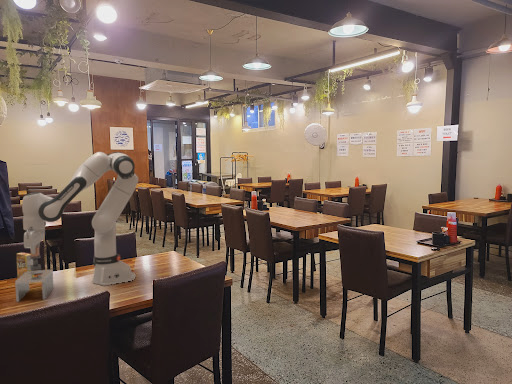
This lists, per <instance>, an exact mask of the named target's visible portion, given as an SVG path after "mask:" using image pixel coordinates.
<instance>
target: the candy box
mask: <svg viewBox="0 0 512 384" xmlns="http://www.w3.org/2000/svg"><path fill="white" fill-rule="evenodd" d="M30 256H31V252H30V253H28V252H23V251H22V252H18V253H16V271H17V279H18V278H19V277H21V276H22V275H23V274H24V273H25V272H26V271H31V267H30V266H31V265H33V259H30ZM32 277H35V274H32V275H31V278H32Z"/></svg>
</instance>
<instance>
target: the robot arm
mask: <svg viewBox="0 0 512 384" xmlns="http://www.w3.org/2000/svg"><path fill="white" fill-rule="evenodd" d="M135 168H136V167H135V162H134V160H133V159H132V158H131V157H130V156H129V155H128V154H125V153H123V152H120V151H114V152H111V153H108V154H106V153H105V152H103V151H97V152H95V153H94V154H92V155H90V156H89V157H88V158H86V160H84V161H83V162H82V163H81V164H80V165H79V167H77V168H76V170H75V172H74V173H73V175H72V177H71V179H70V181H69V182H68V184H67V185H66V186H65V187H64V188H63V189H62V190H61V191H60V192H59V193H58V194H57V195H56V196H55V197H51V196H48V195H45V194H44V193H42V192H40V191H39V192H37V191H36V192H30V193H27V194H26V195H24V196H23V198H22V203H21V204H22V207H21V208H22V211H21V212H22V214H23V218H22V225H23V227H22V228H23V230H24V231H25V232H24V233H23V248H24V249H31V251H30V254H35V253H36V249H35V247H39V248H40V244H41V242H42V241H43V240H44V239H45V236H46V226H47V223H48V222H49V223H54V222H57V221H59V220H60V219H61V218H62V216H63V214H64V212H65V210H66V207H67V206H68V205H69V204H70V203H71V202H72V200H74V199H75V198H76V197H77V195H79V194H80V193H81V192H83V191H84V190H86V189H88V188H89V187H91V186H92V185H94V184H95V183H96V182H97V181H98V180H100V178H101V177H103V176H104V174H105V173H107V172H109V171H113V172H114V173H116V174H117V176H116V177H117V178H116V180H115V182H114V183H113V185H112V187H111V188H110V190H109V191H108V193H107V195H106V196H105V198H104V200H103V201H102V203H101V204H100V206H99V208H98V209H97V210H96V213H95V214H94V215H93V217H92V219H91V227H92V229H94V239H93V245H94V246H93V247H94V255H93V266H94V269H93V270H94V271H93V277H92V283H93V284H95V285H100V286H104V287H105V286H111V284H112V285H117V284H116V283H119V284H123V283H122V282H125V283H129V282H128V281H131V282H133V281H134V279H135V280H136V278H135V277H136V276H137V275H136V273H134V272H133V271H132V269H131V266H130V265H129V264H128V263H126V262H124V261H123V260H121V254H119V253H117V238H116V237H117V221H118V219H119V218H120V216H121V215H122V212H123V211H124V209H125V208H126V206H127V204H128V202H130V199H131V197H132V196H133V194H134V192H135V190H136V188H137V186H138V183H139V177H138V176H137V174H136V173H135ZM132 280H133V281H132Z"/></svg>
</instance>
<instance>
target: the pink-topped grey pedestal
mask: <svg viewBox="0 0 512 384" xmlns="http://www.w3.org/2000/svg"><path fill="white" fill-rule="evenodd" d="M29 249H30V248H29ZM35 249H36V253H35V254H31V253H30V254H31V256H30V259H33V265H31V266H30V267H31V271H38V270H42V265H41V264H40V263H39V259H41V254H40V246H39V247H35ZM29 252H31V249H30V251H29Z"/></svg>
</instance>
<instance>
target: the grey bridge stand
mask: <svg viewBox="0 0 512 384" xmlns="http://www.w3.org/2000/svg"><path fill="white" fill-rule="evenodd" d="M32 274H34V275H36V274H37V276H34V277H32V278H31V275H32ZM14 283H15V285H14V286H15V298H16V299H15V300H16V303H19V302H20V301H21V300H23V298H24V297H25V296H26V295H27V294H28V293H29V291H30V284H31V283H41V290H42V291H41V292H42V300H46V299H47V297H49V295H50V293H51V292H52V291H53V290H54V271H53V269H40V270H37V271H26V272H25V273H24V274H23V275H22V276H21V277H19V278H18V277H17V279H16V280H15V281H14Z"/></svg>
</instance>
